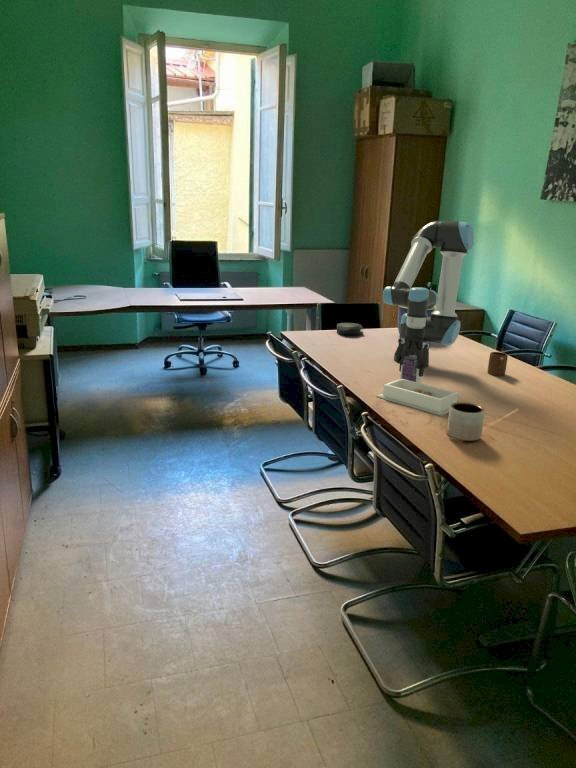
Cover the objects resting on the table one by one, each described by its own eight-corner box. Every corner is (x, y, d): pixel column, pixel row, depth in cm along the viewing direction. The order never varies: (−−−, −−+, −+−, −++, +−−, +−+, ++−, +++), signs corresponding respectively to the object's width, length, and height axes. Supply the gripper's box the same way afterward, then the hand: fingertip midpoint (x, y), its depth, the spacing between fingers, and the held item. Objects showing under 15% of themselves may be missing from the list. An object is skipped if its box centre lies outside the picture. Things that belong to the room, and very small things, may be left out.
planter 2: (441, 429, 191) (444, 401, 188) (473, 429, 192) (476, 402, 189) (453, 442, 180) (457, 413, 177) (486, 441, 181) (490, 413, 178)
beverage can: (419, 383, 240) (422, 355, 236) (417, 388, 233) (420, 359, 230) (402, 381, 242) (404, 353, 238) (399, 386, 236) (402, 357, 232)
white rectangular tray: (376, 397, 221) (377, 384, 219) (399, 388, 232) (400, 376, 231) (441, 416, 203) (443, 402, 201) (463, 406, 214) (464, 393, 212)
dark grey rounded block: (337, 339, 316) (337, 326, 314) (335, 332, 333) (336, 320, 331) (363, 340, 316) (364, 327, 313) (360, 333, 333) (361, 321, 331)
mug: (509, 379, 250) (513, 358, 247) (492, 378, 251) (495, 357, 248) (502, 372, 262) (505, 352, 259) (485, 371, 262) (488, 351, 259)
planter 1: (392, 341, 315) (395, 307, 309) (398, 334, 333) (401, 301, 328) (430, 345, 308) (434, 310, 303) (435, 338, 327) (438, 305, 321)
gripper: (389, 324, 234) (385, 378, 241) (432, 331, 221) (426, 388, 228) (399, 321, 239) (395, 374, 246) (442, 329, 227) (435, 385, 233)
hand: (410, 381), depth 237 cm, fingers closed on beverage can, 7 cm apart
